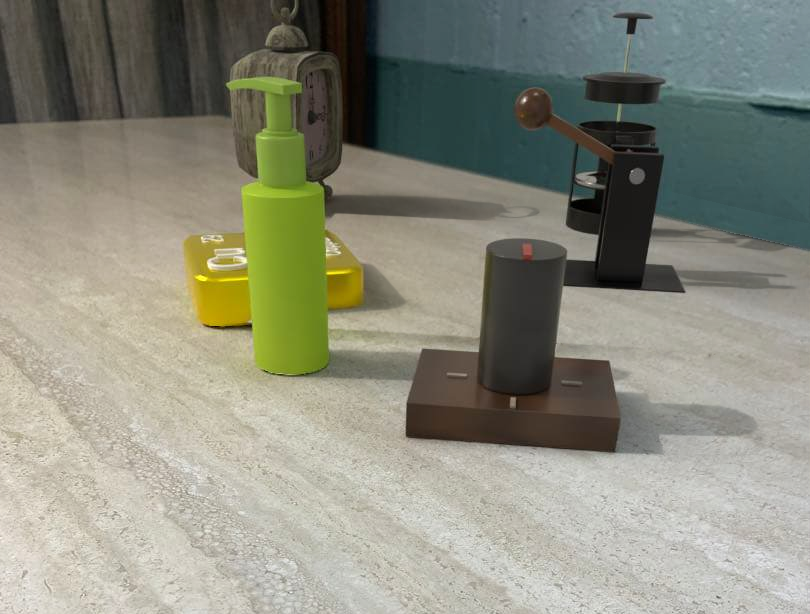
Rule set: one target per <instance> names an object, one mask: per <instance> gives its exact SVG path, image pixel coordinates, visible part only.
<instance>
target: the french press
mask: <svg viewBox="0 0 810 614" xmlns="http://www.w3.org/2000/svg"><path fill="white" fill-rule="evenodd" d="M612 18H613V19H614V18H615V19H625V20H626V19H627V23H626V33H625V34H626V35H628V36H627V44H626V52H625V59H624V65H623V71H606V72H605V71H604V72H600V73H594V74H593V73H591V74H585V75H583V76H582V81H585V82H586V84H585V91H584V99H586V100H588V101H591V102H597V103H604V104H605V103H606V104H617V105H618V106H617V115H616V120H587V121H580V122H578V123H577V125H576V128H578V129H580V130H581V131H583V132H585V133H586V134H588V135H589V136H591V137H593V138H594V139H596V140H598V141H599V142H601V143H603V144H604V145H606V146H607V147H609V148H611V144H618V145H641V146H656V142H657V136H658V130H659V129H658V127H657V126H655V125H651V124H647V123H642V122H635V121H624V120H623V121H622V120H621V115H622V114H621V113H622V108H623V105H651V104H656V103H658V102H659V98H660V94H661V93H660V92H661V86H662V85H665V84H666V83H667V79H665V78H663V77H658V76H657V77H656V76H652V75H649V74H646V73H639V72H630V71H629V72H628V68H629V67H628V66H629V61H630V51H631V45H632V38H633V35H636V31H637V30H636V29H637V25H638V20H653V19H654V17H653V16H652V15H650V14H647V13H643V12H619V13H616V14H614V15H612ZM573 149H574V151H573V158H572V167H571V175H570V184H569V192H568V198H567V199H568V200H567V209H566V217H565V226H566V227H567V228H568V229H571V230H573V231H575V232H579V233H583V234H588V235H595V236H598V235H599V228H600V221H601V213H602V206H603V199H604V192H605V185H606V178H607V171H608V164H609V162H607V161H605V160H604V159H602V158H600V157H599V156H598V164H597V171H586V172H585V171H584V172H580V173H576V169H577V161H578V154H579V153H578V152H579V144H577V143H576V142H574V148H573ZM574 185H577V186H578V187H582V188H586V189H590V190H594V194H593V197H583V198H576V199H573V193H574Z"/></svg>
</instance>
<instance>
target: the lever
mask: <svg viewBox="0 0 810 614" xmlns="http://www.w3.org/2000/svg"><path fill="white" fill-rule="evenodd" d="M554 110H555V109H554V100H553V99H552V96H551V95H550V93H549V92H548V91H547V90H545V89H544V88H541V87H535V86H534V87H529V88H526V89H525V90H523V91H522V92H521V93H520V94H519V95H518V97H517V98H516V100H515V103H514V108H513V112H514V113H513V114H514V119H515V121H516V123H517V124H518V125H519V126H520V127H521V128H522V129H524V130H526V131H529V132H536V131H539V130H541V129H544V128H545V127H546V126H547V127H549V128H551V129H552V130H554V131H556V132H558V134H561V135H563V136H564V137H566V138H568V139H569V140H571V141H573V142H574V143H575V142H576V143H577V144H579V145H580V146H581V147H582V148H584V149H586V150H587V151H589V152H591V153H592V154H593V155H596V156H598V158H599V157H600V158H602V159H604V160H605V161H607V162H609V163H610V164H612V165H613V159H614V152H615V151H614V150H612V149H611V148H609V147H607V146H606V145H604V144H603V143H601V142H599V141H598V140H596V139H594V138H593V137H591V136H589V135H588V134H586V133H585V132H583V131H581V130H580V129H578V128H577V126H574V125H573V124H572V123H570V122H568V121H566V120H565V119H564V118H561V117H560V116H558V115H557V114H555V113H554ZM579 145H578V146H579ZM626 152H633V151H631V150H629V149H627V151H626Z"/></svg>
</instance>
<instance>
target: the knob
mask: <svg viewBox="0 0 810 614" xmlns="http://www.w3.org/2000/svg"><path fill="white" fill-rule="evenodd" d="M484 257H485V258H484V270H483V284H482V285H483V286H482V299H481V300H482V301H481V313H480V327H479V342H478V352H479V354H478V368H477V380H478V382H479V383H480V384H481V385H483V386H484V387H486V388H488V389H490V390H493V391H497V392H501V393H506V394H532V393H537V392H541V391H543V390H545V389H547V388H548V387H549V386H550V385H551V381H552V373H553V365H554V357H556V348H557V339H558V332H559V331H558V330H559V323H560V315H561V307H562V299H563V290H564V286H563V283H564V275H565V267H566V259H567V257H568V250H567V248H566V247H564V246H563V245H561V244H559V243H557V242H553V241H548V240H544V239H538V238H537V239H536V238H523V237H521V238H520V237H516V238H504V239H503V238H502V239H498V240H494V241H491V242H489V243H488V244H487V245H486V248H485V256H484ZM567 260H568V259H567Z"/></svg>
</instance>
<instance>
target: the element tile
mask: <svg viewBox="0 0 810 614" xmlns="http://www.w3.org/2000/svg"><path fill="white" fill-rule="evenodd" d="M325 240H326V273H327V307H328V310H338V309H349V308H354V307H358V306H360V305H362V304H363V303H364V266H363V264H362V263H361V262H360V260H359V259H358V258H357V257H356V256H355V255H354V254H353V252H352V251H351V250H350V249H349V248H348V247H347V246H346V244H345V243H344V242H343V241H342V240H341V239H340V238H339V237H338V235H337V234H335V233H334V232H332V231H331V230H328V229H326V228H325ZM182 251H183V258H184V267H185V277H186V283H187V287H188V290H189V292H190V293H189V294H190V296H191V300H192V304H193V307H194V311H195V314H196V318H197V320H198V321H199V323H201V324H202V323H203V324H202V325H204V324H206V325H209V326H208V327H210V326H220V327H219V328H226V327H225V326H235V327H244V326H243V325H248V326H252V322H250V320H251V319H252V317H251V305H250V292H249V280H248V267H247V255H246V242H245V232H232V233H231V232H230V233H211V234H209V233H208V234H196V235H194V234H193V235H190V236H188V237H186V239H185V240H183V242H182ZM206 325H205V326H206Z"/></svg>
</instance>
